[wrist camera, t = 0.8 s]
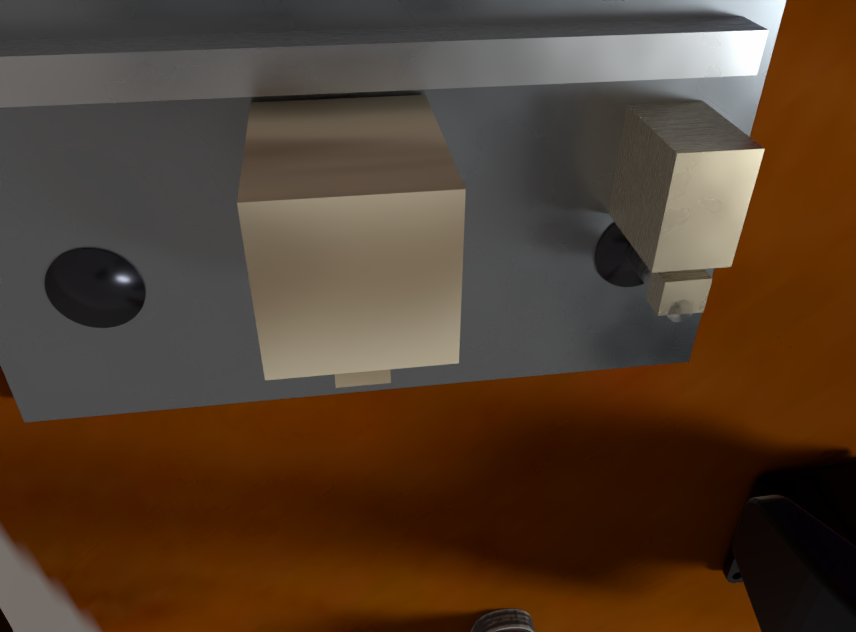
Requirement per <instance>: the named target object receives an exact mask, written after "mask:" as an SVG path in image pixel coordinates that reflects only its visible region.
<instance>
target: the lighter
mask: <svg viewBox="0 0 856 632" xmlns="http://www.w3.org/2000/svg"><path fill="white" fill-rule="evenodd" d="M471 632H535V629H534V626H533V622H532V619H531V617H530V614H528V613H527V612H525V611H523V610H519V609H502V610H496V611H493V612H490V613H488V614H485V615H484V616H482V617H481V618H479V619H478V620H477V621H476V622H475V624H474V625H473V627H472V630H471Z"/></svg>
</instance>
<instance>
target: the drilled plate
mask: <svg viewBox="0 0 856 632" xmlns="http://www.w3.org/2000/svg"><path fill="white" fill-rule="evenodd" d="M785 3H786V0H0V366H1V368H2V370H3V373H4V375H5V377H6V380H7V382H8V384H9V387H10V389H11V392H12V394H13V396H14V399H15V401H16V403H17V406H18V408H19V410H20V413H21V415H22V418H23V420H24V422H35V421H46V420H57V419H68V418H79V417H90V416H100V415H111V414H122V413H133V412H144V411H155V410H166V409H177V408H188V407H199V406H209V405H220V404H231V403H242V402H253V401H264V400H275V399H286V398H297V397H308V396H318V395H329V394H340V393H351V392H362V391H373V390H384V389H395V388H406V387H417V386H428V385H438V384H449V383H460V382H471V381H482V380H493V379H504V378H515V377H526V376H537V375H547V374H558V373H569V372H580V371H591V370H602V369H613V368H624V367H635V366H646V365H656V364H667V363H678V362H689V359H690V355H691V351H692V348H693V344H694V340H695V337H696V333H697V329H698V325H699V322H700V318H701V314H702V312H704V308H705V305H706V301H707V297H708V293H709V290H710V286H711V282H712V279H713V278H712V274H713V270H714V268H722V267H731V265H732V262H733V258H734V255H735V251H736V248H737V244H738V241H739V237H740V234H741V230H742V227H743V223H744V220H745V216H746V213H747V209H748V206H749V202H750V199H751V195H752V192H753V188H754V185H755V181H756V178H757V174H758V171H759V167H760V164H761V160H762V157H763V153H764V150H765V148H763V147H762V146H761V145H759V144H758V143H757V142H756V141H754V140H753V139H752V138H750V133H751V129H752V125H753V122H754V118H755V114H756V111H757V107H758V103H759V99H760V96H761V92H762V88H763V85H764V81H765V77H766V74H767V70H768V66H769V62H770V59H771V55H772V51H773V48H774V44H775V40H776V36H777V33H778V29H779V25H780V22H781V18H782V14H783V11H784V7H785ZM409 95H426V97H427V99H428V101H429V104H430V106H431V108H432V111H433V113H434V115H435V118H436V120H437V123H438V125H439V127H440V130H441V132H442V134H443V137H444V139H445V141H446V144H447V146H448V149H449V151H450V153H451V156H452V158H453V160H454V163H455V165H456V167H457V170H458V172H459V175H460V177H461V179H462V182H463V184H464V186H465V189H466V194H465V220H464V246H463V271H462V297H461V323H460V348H459V363H457V364H445V365H434V366H423V367H411V368H400V369H390V373H391V383H384V384H373V385H362V386H351V387H340V388H336V385H335V374H332V375H321V376H310V377H298V378H287V379H276V380H265V377H264V371H263V364H262V358H261V352H260V345H259V339H258V333H257V327H256V320H255V314H254V308H253V301H252V295H251V289H250V282H249V276H248V270H247V264H246V257H245V251H244V245H243V238H242V232H241V226H240V219H239V213H238V207H237V198H238V191H239V183H240V176H241V169H242V161H243V154H244V147H245V139H246V132H247V124H248V117H249V110H250V102H272V101H295V100H318V99H340V98H363V97H386V96H409Z"/></svg>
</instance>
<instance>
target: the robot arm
mask: <svg viewBox="0 0 856 632" xmlns="http://www.w3.org/2000/svg"><path fill="white" fill-rule="evenodd" d="M723 573H724V575H725V577H726V579H727V580H728V582H731V583H736V582H744V585H745V588H746V590H747V593H748V596H749V598H750V601H751V604H752V607H753V609H754V612H755V615H756V618H757V620H758V623H759V626H760V628H761V631H762V632H856V463H850V464H841V465H832V466H823V467H814V468H805V469H796V470H788V471H779V472H771V473H767V474H765V475H763V476H761V477H760V478H759V479H758V480H757V482H756V484H755V487H754V489H753V492H752V495H751V497H750V499H749V500H748V501H747V502H746V504H745V506H744V509H743V512H742V515H741V517H740V520H739V523H738V525H737V528H736V531H735V533H734V536H733V543H732V547H731V549H730V552H729V554H728V557H727V560H726V562H725V565H724V567H723ZM0 632H13V630H12V628H11V626H10V624H9V622H8V621H7V619H6V617H5V615H4V614H3V612H2V610H1V609H0Z"/></svg>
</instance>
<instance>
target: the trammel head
mask: <svg viewBox="0 0 856 632" xmlns="http://www.w3.org/2000/svg"><path fill="white" fill-rule="evenodd" d="M465 194H466V189H465V186H464V184H463V182H462V179H461V177H460V175H459V172H458V170H457V167H456V165H455V163H454V160H453V158H452V156H451V153H450V151H449V149H448V146H447V144H446V141H445V139H444V137H443V134H442V132H441V130H440V127H439V125H438V123H437V120H436V118H435V115H434V113H433V111H432V108H431V106H430V104H429V101H428V99H427V97H426V95H409V96H386V97H363V98H340V99H318V100H295V101H272V102H250V110H249V117H248V124H247V132H246V139H245V147H244V154H243V161H242V169H241V176H240V183H239V191H238V198H237V207H238V213H239V219H240V226H241V232H242V238H243V245H244V251H245V257H246V264H247V270H248V276H249V282H250V289H251V295H252V301H253V308H254V314H255V320H256V327H257V333H258V339H259V345H260V352H261V358H262V364H263V371H264V377H265V380H276V379H287V378H298V377H310V376H321V375H332V374H335V385H336V388H340V387H351V386H362V385H373V384H384V383H391V373H390V369H400V368H411V367H423V366H434V365H445V364H457V363H459V348H460V323H461V297H462V271H463V246H464V220H465Z"/></svg>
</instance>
